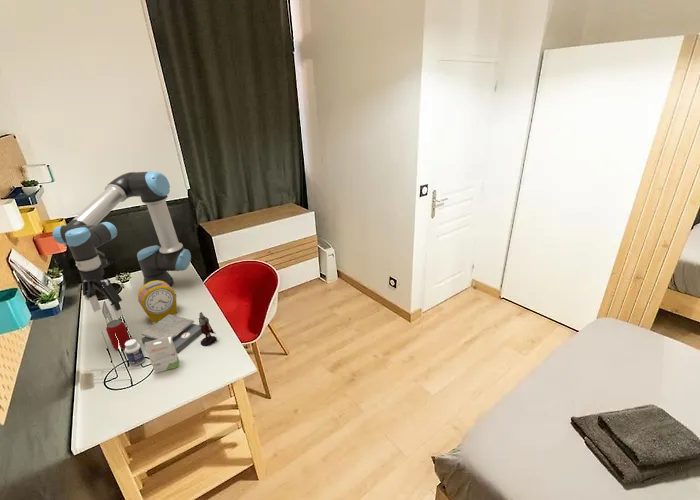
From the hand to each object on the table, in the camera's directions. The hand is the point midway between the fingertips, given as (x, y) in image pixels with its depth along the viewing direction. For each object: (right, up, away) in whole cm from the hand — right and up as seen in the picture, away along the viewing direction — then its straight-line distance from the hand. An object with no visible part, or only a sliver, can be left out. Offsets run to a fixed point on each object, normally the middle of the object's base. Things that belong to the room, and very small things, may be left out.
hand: (108, 313), depth 146 cm
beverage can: (+1, -16, +7) cm, 17 cm away
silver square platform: (+20, -9, +10) cm, 24 cm away
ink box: (+27, -20, -6) cm, 34 cm away
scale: (+22, -12, +11) cm, 27 cm away
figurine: (+39, -13, +8) cm, 41 cm away
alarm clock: (+8, -6, +27) cm, 29 cm away
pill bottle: (+13, -19, -2) cm, 24 cm away
